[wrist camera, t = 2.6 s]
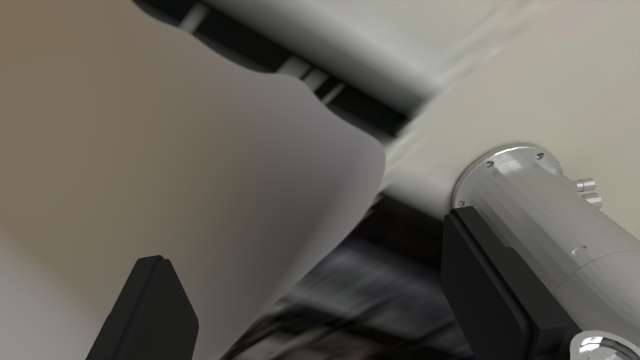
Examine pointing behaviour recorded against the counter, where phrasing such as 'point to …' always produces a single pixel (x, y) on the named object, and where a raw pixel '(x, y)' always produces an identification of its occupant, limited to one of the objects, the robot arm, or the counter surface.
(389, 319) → the counter surface
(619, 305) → the robot arm
